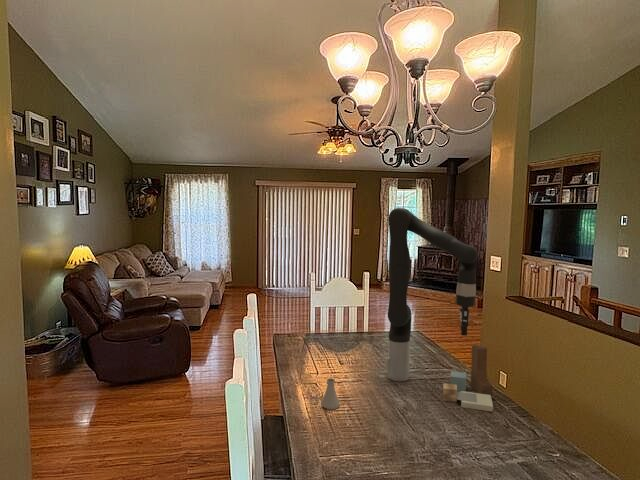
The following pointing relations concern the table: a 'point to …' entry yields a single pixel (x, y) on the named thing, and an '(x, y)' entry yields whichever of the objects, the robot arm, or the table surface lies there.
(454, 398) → the oak block
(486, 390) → the wooden block
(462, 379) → the cube
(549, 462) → the table surface
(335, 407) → the flask
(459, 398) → the foundation board
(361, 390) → the table surface
